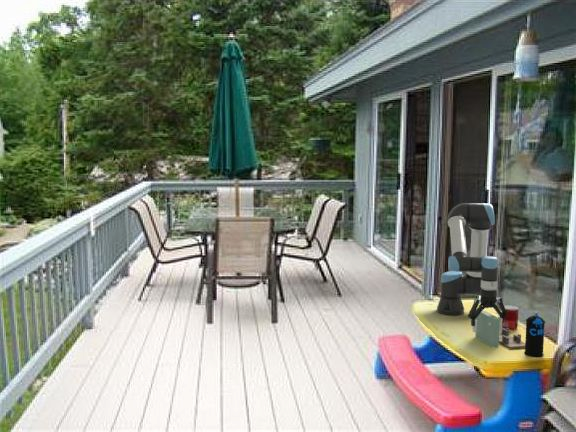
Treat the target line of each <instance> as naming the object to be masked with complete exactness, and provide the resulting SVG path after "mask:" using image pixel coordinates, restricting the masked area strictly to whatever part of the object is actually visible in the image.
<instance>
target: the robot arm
mask: <svg viewBox="0 0 576 432" xmlns="http://www.w3.org/2000/svg"><path fill="white" fill-rule="evenodd" d="M495 220H496V219H495V211H494V207H493V205H492V204H491V203H484V202H481V203H480V202H479V203H475V202H474V203H473V202H470V203H469V202H465V203H464V202H463V203H462V202H461V203H459V204H457V205H455V206H454V207H453V208H452V209H451V210H450V212H449V213H448V216H447V226H448V228H449V233H450V234H449V235H450V247H451V249H450V250H451V255H450V256H448V261H447V263H448V271H446V272H443V273H442V274H441V277H440V298H439V301H438V304H437V306H436V312H437V311H438V312H437V313H439V314H442V315H445V316H446V315H447V316H461V315H464V313H465V307H464V303H463V299H462V295H463V296H479V298H480V299H479V298H478V299H477V298H474V299H473V304H472V307H470V309H469V312H468V315H467V318H469V319H470V323H471V325H470V326H471V327H472V330H471V331H472V332H473V333H475V334H476V333H477V320H476V318H477V317H478V315H479V314H480V313H481V312H482V310H483V311H484V310H485V309H492V308H493V310H494V311H495V312H496V314H497V315H498V316H497V318H499V319H500V326H499V331H502V328H503V327H502V324H503V323H504V318H505V316H508V314H507V312H506V309H505V307H504V306H505V304H504V302H503V298H502V297H501V296H500V297H499V296H498V297H497V294H498V290H497V288H498V274H499V273H498V272H499V269H498V268H499V259H498V257H495V256H492V255H491V256H490V255H487V252H488V251H487V250H488V249H487V248H488V236H489V232H490V230H491V229H492V226H494V225H495ZM466 225H468V227H469V229H470V230H471V233H470V234H471V236H470V237H471V238H470V239H471V240H470V254H469V256H468V250H467V240H466V229H465V228H466V227H465V226H466ZM463 272H464V273H466V274H463ZM496 303H497V304H496ZM498 306H499V307H498ZM502 313H503V314H502Z"/></svg>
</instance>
